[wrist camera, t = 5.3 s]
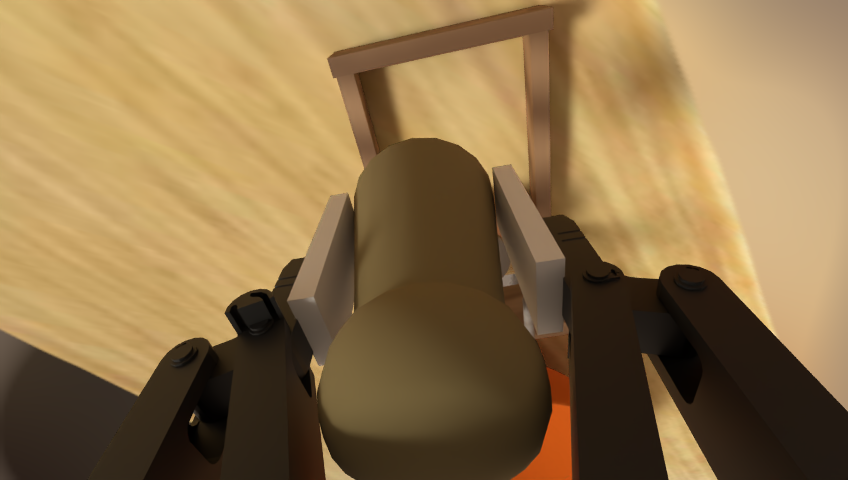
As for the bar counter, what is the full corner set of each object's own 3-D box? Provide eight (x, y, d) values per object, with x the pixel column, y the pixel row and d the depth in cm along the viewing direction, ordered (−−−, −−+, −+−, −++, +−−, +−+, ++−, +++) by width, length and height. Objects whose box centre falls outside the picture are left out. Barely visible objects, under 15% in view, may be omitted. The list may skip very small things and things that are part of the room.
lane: (335, 51, 27) (308, 75, 20) (539, 5, 26) (587, 12, 19) (410, 305, 41) (410, 371, 34) (546, 282, 40) (575, 346, 33)
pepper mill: (521, 176, 16) (670, 425, 7) (450, 278, 19) (487, 552, 10) (388, 110, 14) (345, 315, 5) (334, 233, 17) (242, 508, 8)
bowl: (590, 426, 55) (622, 504, 47) (421, 452, 58) (423, 531, 49) (592, 302, 41) (637, 381, 33) (370, 343, 44) (361, 427, 36)
